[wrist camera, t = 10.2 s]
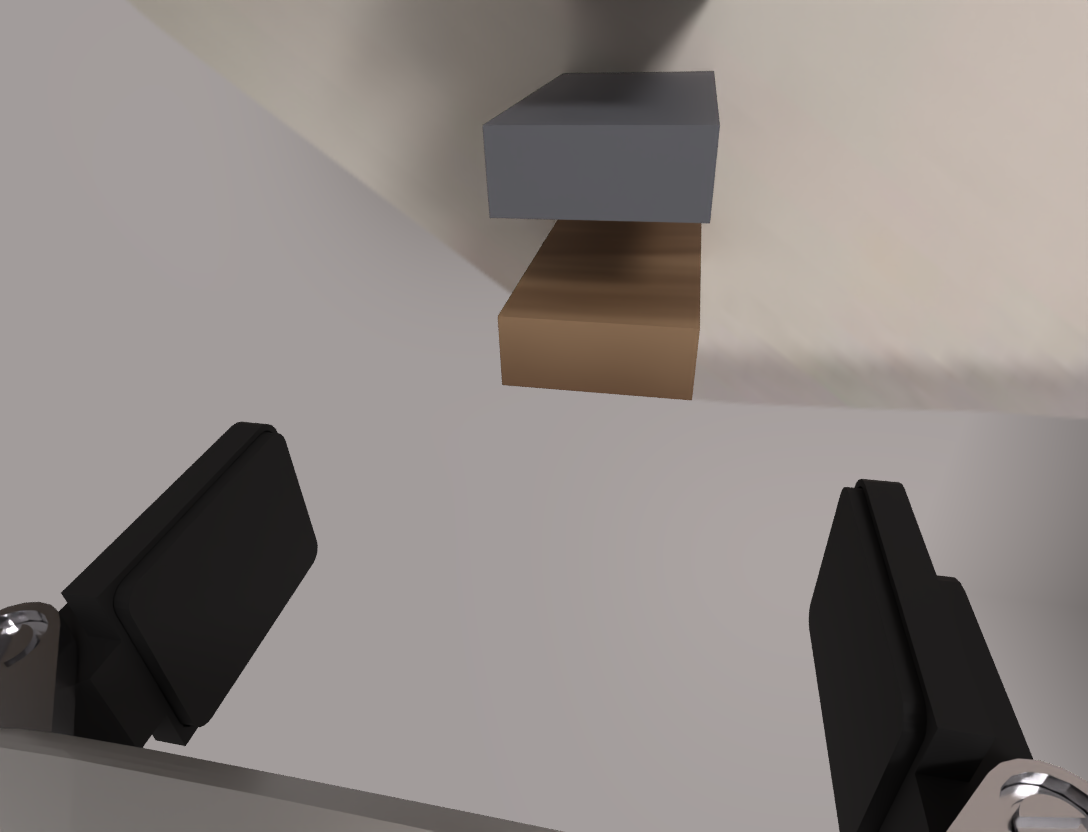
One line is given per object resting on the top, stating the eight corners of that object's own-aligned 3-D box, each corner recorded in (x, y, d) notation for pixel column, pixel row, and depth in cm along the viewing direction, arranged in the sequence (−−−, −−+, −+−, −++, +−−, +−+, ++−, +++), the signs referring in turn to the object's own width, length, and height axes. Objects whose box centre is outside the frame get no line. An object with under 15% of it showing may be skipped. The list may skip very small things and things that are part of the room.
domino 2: (565, 207, 25) (497, 316, 17) (701, 211, 24) (699, 329, 16) (565, 258, 26) (502, 384, 18) (696, 264, 25) (691, 399, 17)
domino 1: (563, 73, 23) (482, 125, 14) (713, 71, 22) (719, 124, 14) (563, 136, 24) (489, 217, 16) (708, 136, 23) (709, 223, 15)
